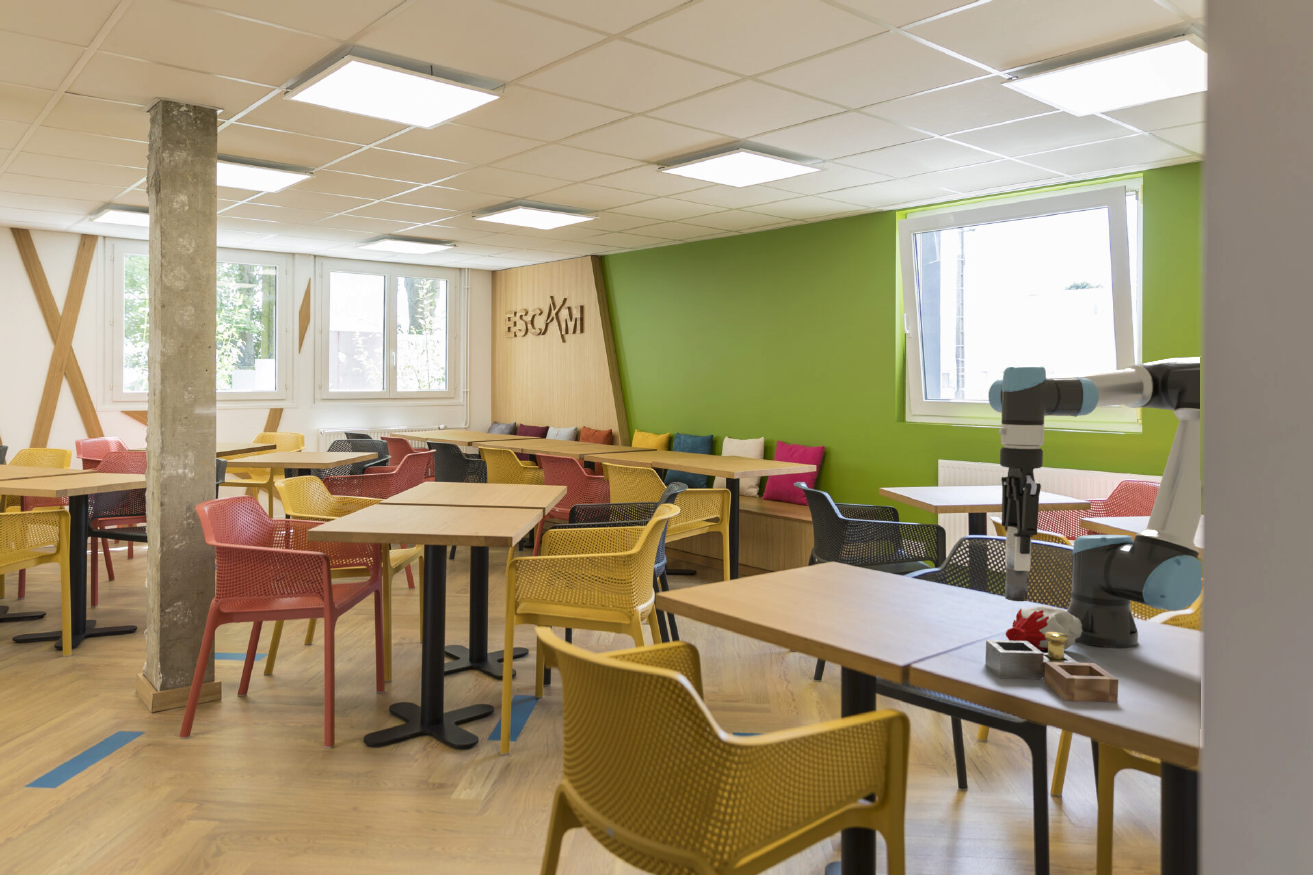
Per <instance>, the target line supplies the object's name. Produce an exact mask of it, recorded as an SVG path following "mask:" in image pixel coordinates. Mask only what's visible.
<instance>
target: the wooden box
mask: <svg viewBox="0 0 1313 875" xmlns="http://www.w3.org/2000/svg"><path fill="white" fill-rule="evenodd" d="M1044 684H1045V685H1046V686H1047V687H1049V688H1050V689H1051V690H1052V691H1053V692H1055V693H1056V694H1057V695H1058V696H1060V697H1061V698H1062V699H1063V700H1064V701H1074V702H1075V701H1076V702H1077V701H1078V702H1107V703H1109V702H1112V703H1114V702H1115V703H1118V697H1119V696H1118V695H1119V679H1118V678H1117V677H1115V676H1114V675H1112V674H1111V673H1109V671H1107V670H1105V669H1103V668H1102V667H1100V666H1099V665H1098V664H1096V663H1095V662H1078V663H1068V662H1045V678H1044Z"/></svg>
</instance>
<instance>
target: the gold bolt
mask: <svg viewBox="0 0 1313 875" xmlns="http://www.w3.org/2000/svg"><path fill="white" fill-rule="evenodd" d="M1045 639H1046V640H1048V649H1047V653H1048V659H1050V660H1059V661H1064V653H1065V649H1064V643H1066V642H1068V635H1066V634H1063V633H1059V632H1046V633H1045Z"/></svg>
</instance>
